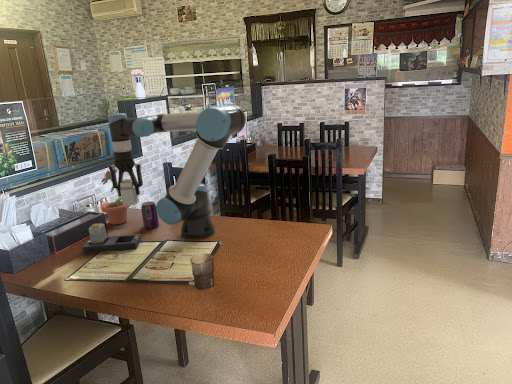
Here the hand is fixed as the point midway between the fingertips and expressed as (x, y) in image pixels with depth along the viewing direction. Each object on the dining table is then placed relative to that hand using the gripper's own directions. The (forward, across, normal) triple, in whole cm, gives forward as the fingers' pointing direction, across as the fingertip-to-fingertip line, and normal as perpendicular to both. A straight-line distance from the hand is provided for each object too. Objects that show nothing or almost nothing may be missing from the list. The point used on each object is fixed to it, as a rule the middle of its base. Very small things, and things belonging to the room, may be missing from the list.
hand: (130, 202), depth 173 cm
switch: (+17, +8, +9) cm, 20 cm away
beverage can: (+17, -4, -14) cm, 22 cm away
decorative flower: (+17, +16, -25) cm, 34 cm away
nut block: (0, 0, 0) cm, 0 cm away
